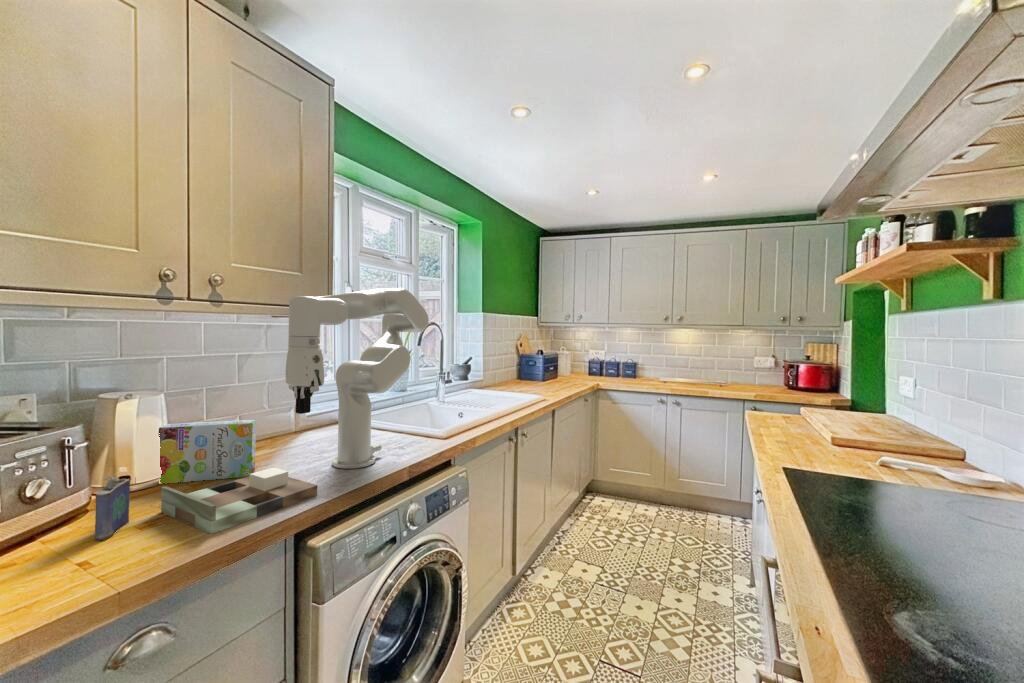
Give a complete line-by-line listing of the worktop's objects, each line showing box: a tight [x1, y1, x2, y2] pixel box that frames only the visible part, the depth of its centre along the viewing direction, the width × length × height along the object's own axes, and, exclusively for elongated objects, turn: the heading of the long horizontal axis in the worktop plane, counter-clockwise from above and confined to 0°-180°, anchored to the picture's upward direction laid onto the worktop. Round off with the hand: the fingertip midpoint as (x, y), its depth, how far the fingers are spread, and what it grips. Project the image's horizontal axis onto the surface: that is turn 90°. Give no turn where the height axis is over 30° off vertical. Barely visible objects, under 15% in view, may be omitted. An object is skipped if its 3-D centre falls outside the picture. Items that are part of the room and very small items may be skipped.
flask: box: [94, 476, 131, 542], centre depth 85 cm, size 9×3×11 cm, turn 20°
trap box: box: [160, 476, 318, 535], centre depth 99 cm, size 24×20×6 cm
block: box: [249, 467, 289, 491], centre depth 105 cm, size 6×6×3 cm
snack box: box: [158, 419, 257, 485], centre depth 116 cm, size 21×6×15 cm, turn 111°
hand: (303, 412), depth 112 cm, fingers closed
